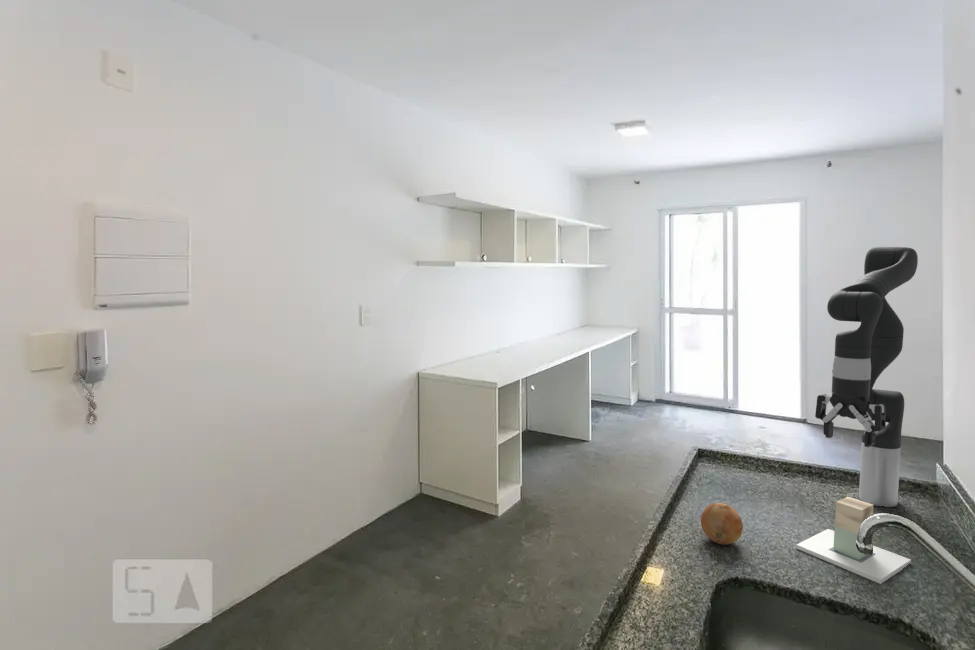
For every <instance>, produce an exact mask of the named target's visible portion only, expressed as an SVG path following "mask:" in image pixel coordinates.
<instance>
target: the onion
mask: <svg viewBox="0 0 975 650" xmlns="http://www.w3.org/2000/svg"><path fill="white" fill-rule="evenodd" d="M743 525H744V524H743V519H742V518H741V516H740V514H739V512H737V510H735V508H733V507H732V506H730V505H729V504H726V503H722V502H715V503H710V504H709V505H707V506H706V507H705V508H704V509H703V510H702V513H701V517H700V526H701V529H702V531H703V533H704V534H705V536H706V537H707V538H708V539H710V540H711V541H712V542H713V543H716V544H718V545H724V546H727V545H731V544H733V543H735V542H737V541H738V540H739V539H740V538H741V536H742V535H743V528H744V527H743Z"/></svg>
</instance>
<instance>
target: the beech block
mask: <svg viewBox="0 0 975 650" xmlns="http://www.w3.org/2000/svg"><path fill="white" fill-rule="evenodd" d="M870 516H873V517H874V505H873V504H870V503H867V502H864V501H862V500H861V499H857V498H854V497H852V496H851V497H850V496H846V497H844V498H842V499H840V500H837V501H836V502H835V520H834V527H835V526H837V527H839V528H842V529H845V530H848V531H850V532H853V533H856V534H858V532H859V528H860V525H861V523H862V522H863V521H864V520H865V519H867V518H868V517H870Z"/></svg>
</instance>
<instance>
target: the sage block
mask: <svg viewBox="0 0 975 650" xmlns="http://www.w3.org/2000/svg"><path fill="white" fill-rule="evenodd" d="M833 531H834V549H833V550H836V551H838V552H841V553H843V554H846V555H848V556H851V557H853V558H856V559H858V560H859V559H861V558H863V557H865V556H866V555H864V554H862V553H860V552H859V551H858V549H857V547H856V540H857V535H858V534H856V533H853V532H850V531H848V530H845V529H842V528H839V527H837V526H835V525H834V529H833Z"/></svg>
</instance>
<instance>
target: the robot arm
mask: <svg viewBox="0 0 975 650" xmlns="http://www.w3.org/2000/svg"><path fill="white" fill-rule="evenodd" d="M918 261H919V259H918V252H917V251H916V250H915V249H914V248H911V247H909V246H908V247H906V246H905V247H904V246H874V247H870V248H869V249H868V250H867V252H866V254H865V258H864V266H863V267H864V268H863V269H864V271H863V272H864V273H863V275H862V276H860V277H859V278H858V279H857V280H856V281H855V282H854V284H852V285H848V286H846V287H842V288H840V289H839V290H836V291H835V292H834V293H833V294H832V295H831V296H830V297H829V300H828V302H827V306H826V309H827V313H828V315H829V316H830V317H831V318H832V319H833V320H836V321H840V322H855V323H856V322H857V323H859V322H860V325H859V327H858V328H857V329H853V330H845V331H840V332H838V333H837V334H836V335H835V340H834V356H833V357H834V358H833V363H832V370H831V372H832V378H831V396H829V395H827V394H826V393H823V394H822V393H821V394H819V395H817V397H816V406H815V407H816V408H815V414H814V415H815V418H816V419H819V420H821V421H822V422H823V435H824V436H825V438H827V439H831V438H833V436H834V425H835V424H834V422H833V420H835V419H836V418H837V417H838V416H840V418H841V417H842V418H848V419H852V420H856V419H857V421H858V423H860V424H861V425H862V426H863V428H864V430H865V431H864V432H863V433H862V434H861V445H860V446H861V448H860V466H859V467H860V469H859V470H860V471H859V489H858V498H859V500H860V501H863V502H867V503H870V504H873V506H877V507H882V506H884V507H885V508H893V507H896V506H898V503H899V502H898V500H899V497H898V496H899V487H900V486H899V483H900V466H901V450H902V449H901V448H902V447H901V445H902V429H903V421H904V412H905V398H904V395H903V394H902V392H900V391H897V390H888V389H887V390H886V389H878V388H877V389H876V388H875V389H874V385H875V383H876V381H877V379H878V378H879V377H880V376H881V374H882V373H883V372H884V371H885V370H886V369H887V368H888V367H889V366H890V365H891V364H892V363H893V362H894V361H895V360H896V358H898V357H899V356H900V354H901V352H902V350H903V346H904V345H903V344H904V330H905V328H904V325H903V322H902V321H901V319H900V317H899V316H898V314H897V313H896V312H895V311H894V309H893V308H892V307H891V305H890V304H889V302H888V300H887V299H886V296H887V295H888V294H890V292H891V291H894V290H895V289H897V288H898V287H901V286H902V285H904V284H906V283H908V282H909V281H910V280H912V279H913V278H914V276H915V274H916V272H917V268H918V264H919V262H918ZM829 403H830V405H831V406H832V407H833V408H832V409H830V411H828V413H827V405H828V404H829ZM826 413H827V414H826ZM873 421H874V422H873ZM886 423H887V424H886Z"/></svg>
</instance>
